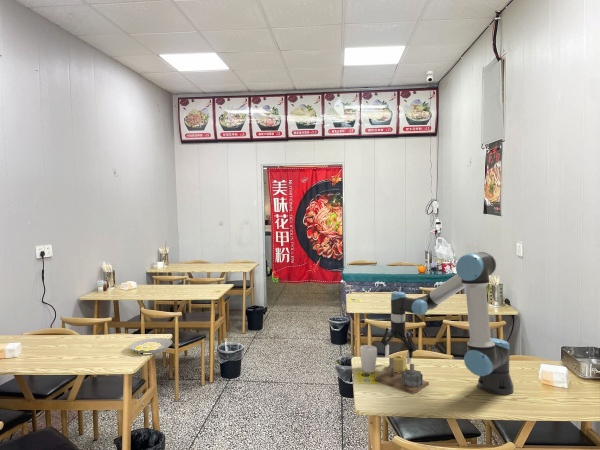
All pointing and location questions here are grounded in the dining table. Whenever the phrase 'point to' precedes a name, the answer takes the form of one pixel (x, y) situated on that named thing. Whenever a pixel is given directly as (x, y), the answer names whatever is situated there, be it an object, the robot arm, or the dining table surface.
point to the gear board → (403, 379)
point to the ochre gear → (399, 363)
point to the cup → (368, 357)
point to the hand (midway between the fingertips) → (397, 360)
